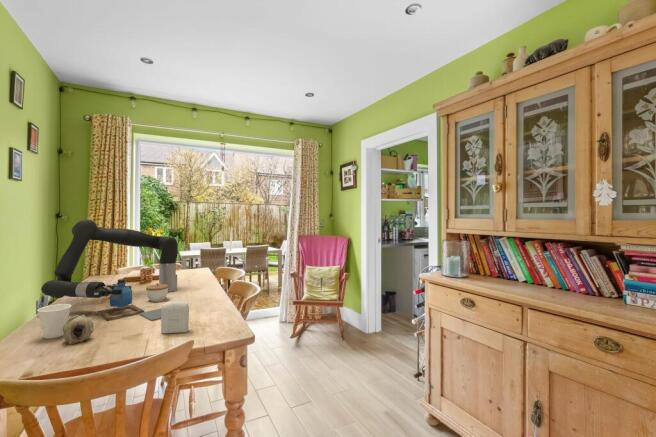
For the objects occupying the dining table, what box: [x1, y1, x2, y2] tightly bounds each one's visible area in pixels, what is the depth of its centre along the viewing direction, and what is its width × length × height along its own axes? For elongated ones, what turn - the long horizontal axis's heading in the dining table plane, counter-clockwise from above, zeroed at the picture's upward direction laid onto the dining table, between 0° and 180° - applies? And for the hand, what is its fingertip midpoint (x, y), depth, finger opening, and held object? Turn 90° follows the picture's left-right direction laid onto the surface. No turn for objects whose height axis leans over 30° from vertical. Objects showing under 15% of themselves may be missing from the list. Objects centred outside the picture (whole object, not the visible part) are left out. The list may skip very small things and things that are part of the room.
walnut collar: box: [96, 304, 145, 322], centre depth 148 cm, size 15×15×1 cm
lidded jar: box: [145, 282, 169, 303], centre depth 171 cm, size 11×11×9 cm
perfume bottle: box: [109, 278, 133, 308], centre depth 148 cm, size 6×6×12 cm
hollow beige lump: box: [62, 314, 95, 345], centre depth 116 cm, size 9×8×10 cm
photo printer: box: [160, 300, 190, 334], centre depth 126 cm, size 10×4×12 cm, turn 103°
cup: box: [36, 303, 72, 340], centre depth 120 cm, size 10×10×11 cm
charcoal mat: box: [138, 307, 162, 322], centre depth 148 cm, size 14×14×1 cm
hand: (126, 290), depth 148 cm, fingers closed on perfume bottle, 6 cm apart
